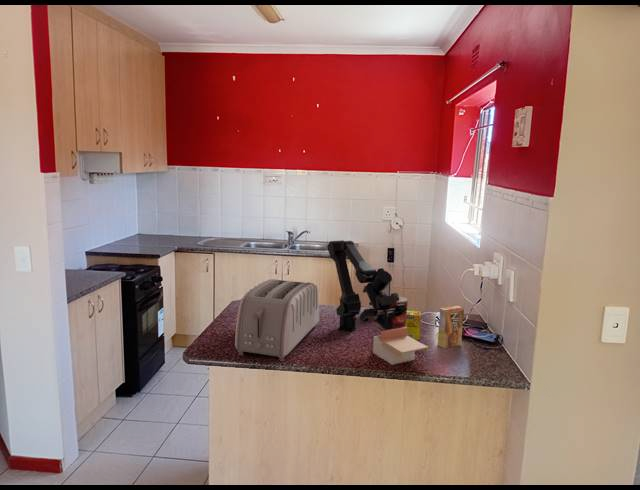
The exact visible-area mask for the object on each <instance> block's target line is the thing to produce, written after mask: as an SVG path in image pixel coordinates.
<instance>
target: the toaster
mask: <svg viewBox="0 0 640 490" xmlns="http://www.w3.org/2000/svg"><path fill="white" fill-rule="evenodd" d="M318 291H319V290H318V287H317V285H316V284H314V282H304V281H293V280H281V279H277V278H273V279H272V278H270V279H267V280H265V281H263V282H261V283H258V284H257V285H256V286H253V288H251V289H249V291H247V292H246V293H245V294H244V295H243V296H242V298H241V299H240V300H239V301H240V302H239V306H238V310H237V317H236V323H235V324H236V326H235V334H234V335H235V337H234V338H235V340H234V347H235V348H236V351H237V352H238V353H239V354H243V353H246V352H247V353H252V354H257V355H258V354H260V355H264V356H265V355H266V356H271V357H278V361H279V360H280V361H284V360H285V357H286V356H288V354H290V352H291V351H293V349H295V347H296V346H297V345H298V344H299V343H300V342H301V341H302V340H303V339H304V338H305V336H307V335H308V334H309V332H311V331H312V329H313V328H316V326H317V327H318V325H317V324H318V323H319V321H320V301H319V293H318ZM280 361H279V362H280ZM285 361H286V360H285ZM285 361H284V362H285Z"/></svg>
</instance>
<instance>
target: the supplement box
mask: <svg viewBox="0 0 640 490" xmlns="http://www.w3.org/2000/svg"><path fill="white" fill-rule="evenodd" d="M421 318H422V312H421V311H420V310H419V311H417V310H407V311H406V323H405V324H404V327H407V336H409V337H411V338H413V339H414V340H416V341H418V342H420V332H421V322H422V319H421Z"/></svg>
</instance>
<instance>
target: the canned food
mask: <svg viewBox="0 0 640 490" xmlns="http://www.w3.org/2000/svg"><path fill="white" fill-rule="evenodd" d="M396 302H397V303H396V304H392V306H391V307H390V309H392V308H393V307H394V306H395V305H397V304H405V305H406V307H407V308H408V298H406V297H404V296H399V301H396ZM406 311H408V309H407V310H406ZM406 311H405V312H404V313H403V314H402V315H401V316H398V317H393V326H394V325H395V326H404V325H405V324H406Z"/></svg>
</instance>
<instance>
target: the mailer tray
mask: <svg viewBox="0 0 640 490" xmlns="http://www.w3.org/2000/svg"><path fill="white" fill-rule="evenodd" d="M372 354H374V355H376V356H377V357H379V358H381V359H382V360H383V359H384V360H383V361H385V362H386V361H387V363H388V364H389V365H391V366H393V365H394V366H395V365H399V364H402V363H403V362H404V363H406V362H407V361H408V362H412V360H413V361H415V354H416V351H413V352H408V353H403V359H402V358H400V357H398V356H397V355H395V354H393V353H392V352H390V351H388V350H387V349H385V348H383V347H382V342H381V341H380V335H375V336H373V346H372ZM398 363H399V364H398ZM404 363H403V364H404Z"/></svg>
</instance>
